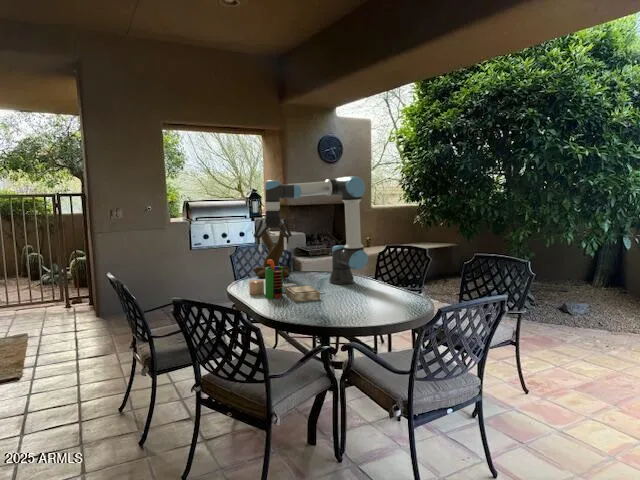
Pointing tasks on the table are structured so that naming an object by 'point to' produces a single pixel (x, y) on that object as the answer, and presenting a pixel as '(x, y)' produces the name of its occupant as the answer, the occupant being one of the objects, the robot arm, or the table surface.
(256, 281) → the tan rounded cylinder
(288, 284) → the grey stone block
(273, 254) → the wooden stand
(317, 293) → the plinth
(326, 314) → the table surface
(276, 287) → the motor
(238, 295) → the table surface
